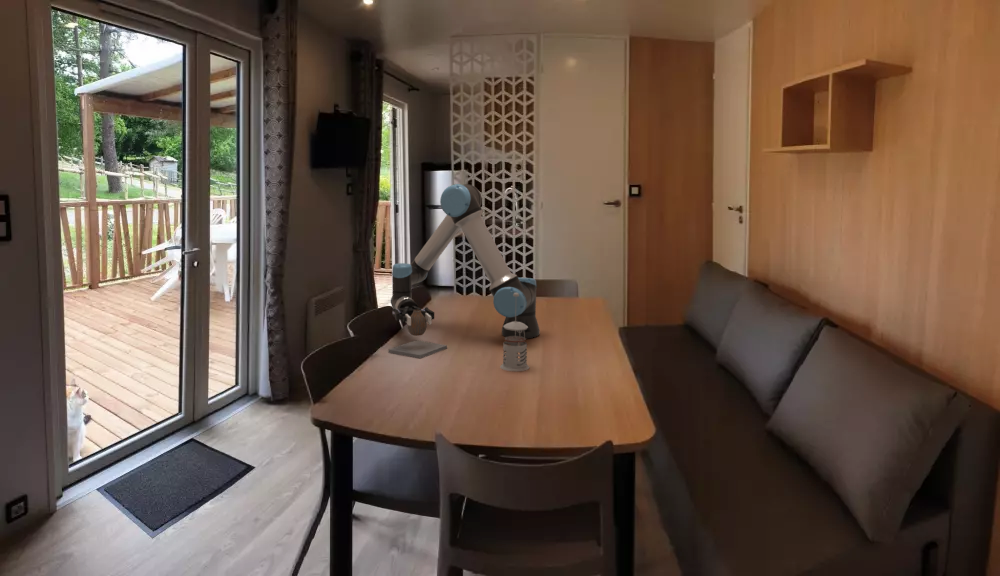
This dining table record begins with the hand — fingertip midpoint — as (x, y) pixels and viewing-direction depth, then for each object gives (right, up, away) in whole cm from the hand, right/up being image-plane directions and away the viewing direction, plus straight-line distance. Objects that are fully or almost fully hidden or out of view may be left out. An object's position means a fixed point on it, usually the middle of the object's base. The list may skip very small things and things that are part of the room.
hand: (420, 321), depth 225 cm
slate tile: (-2, -11, +7) cm, 13 cm away
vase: (-2, -5, +6) cm, 8 cm away
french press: (+33, -15, -11) cm, 38 cm away
